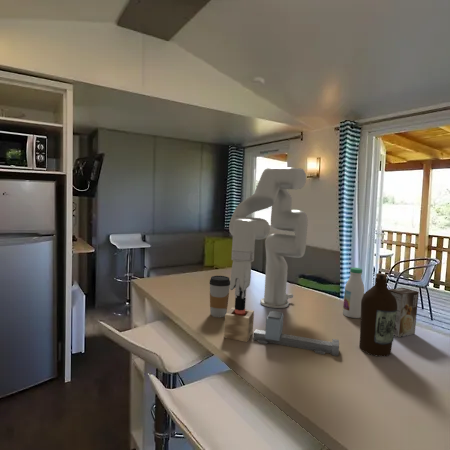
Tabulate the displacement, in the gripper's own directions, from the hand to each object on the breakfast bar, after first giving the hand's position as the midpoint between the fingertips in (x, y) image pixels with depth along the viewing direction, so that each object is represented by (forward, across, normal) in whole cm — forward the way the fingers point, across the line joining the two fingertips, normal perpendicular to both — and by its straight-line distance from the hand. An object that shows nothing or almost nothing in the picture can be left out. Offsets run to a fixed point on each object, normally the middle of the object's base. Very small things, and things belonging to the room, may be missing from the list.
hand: (239, 308), depth 116 cm
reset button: (+5, 0, 0) cm, 5 cm away
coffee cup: (+10, -16, -13) cm, 23 cm away
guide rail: (+9, 0, +18) cm, 20 cm away
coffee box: (+9, -27, +54) cm, 61 cm away
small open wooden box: (+9, 0, 0) cm, 9 cm away
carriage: (+8, 0, +12) cm, 14 cm away
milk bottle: (+9, -40, +38) cm, 56 cm away
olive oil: (+10, -7, +44) cm, 46 cm away
